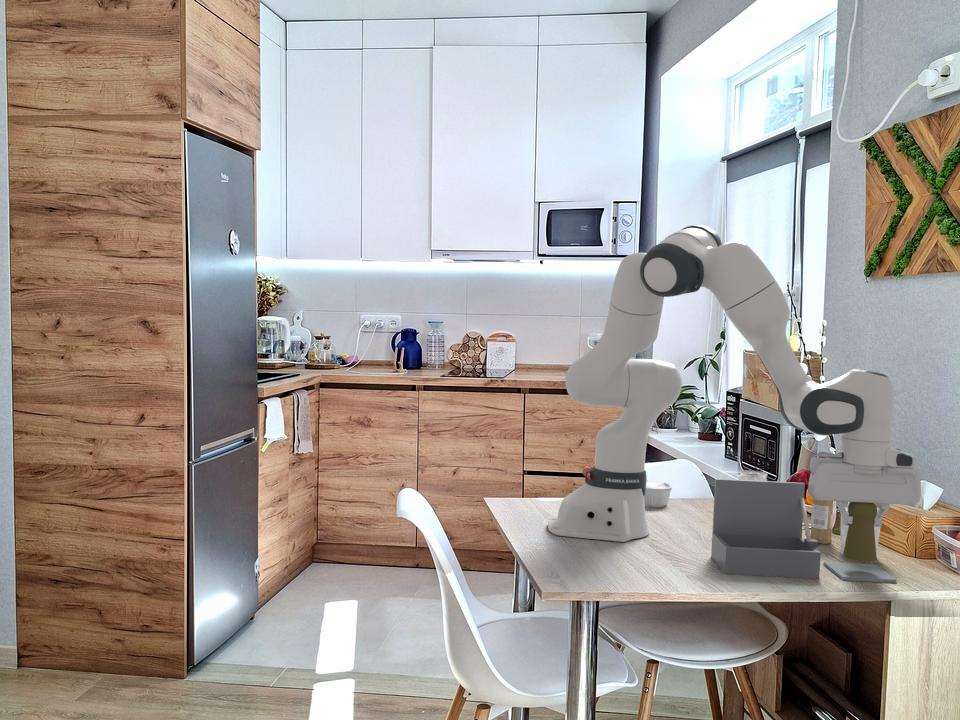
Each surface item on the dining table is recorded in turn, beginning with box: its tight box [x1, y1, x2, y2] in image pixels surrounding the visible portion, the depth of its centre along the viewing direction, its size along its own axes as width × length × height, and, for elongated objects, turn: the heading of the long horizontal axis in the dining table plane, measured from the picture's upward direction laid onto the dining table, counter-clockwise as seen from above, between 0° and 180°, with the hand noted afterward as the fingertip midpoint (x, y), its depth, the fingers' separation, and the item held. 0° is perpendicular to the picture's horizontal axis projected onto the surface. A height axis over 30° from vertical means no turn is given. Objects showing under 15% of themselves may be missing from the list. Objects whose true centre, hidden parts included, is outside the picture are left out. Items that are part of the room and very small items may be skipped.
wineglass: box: [737, 469, 769, 481], centre depth 204 cm, size 7×7×12 cm
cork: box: [842, 502, 878, 563], centre depth 163 cm, size 6×6×11 cm
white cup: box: [839, 507, 881, 556], centre depth 176 cm, size 8×8×10 cm
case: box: [710, 478, 822, 580], centre depth 165 cm, size 18×12×16 cm, turn 87°
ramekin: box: [644, 479, 673, 508], centre depth 221 cm, size 11×11×5 cm
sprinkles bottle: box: [810, 498, 834, 545], centre depth 187 cm, size 5×5×13 cm
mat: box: [822, 561, 898, 584], centre depth 164 cm, size 10×10×1 cm
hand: (861, 525), depth 163 cm, fingers closed on cork, 4 cm apart
